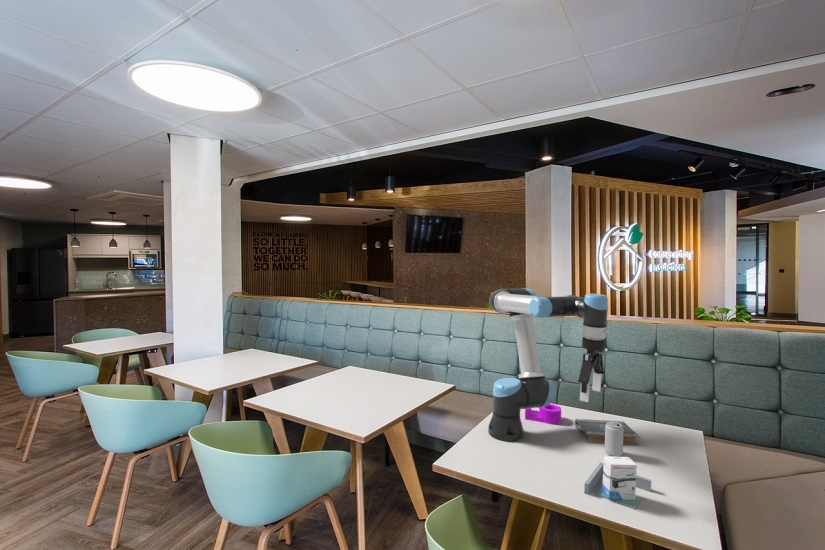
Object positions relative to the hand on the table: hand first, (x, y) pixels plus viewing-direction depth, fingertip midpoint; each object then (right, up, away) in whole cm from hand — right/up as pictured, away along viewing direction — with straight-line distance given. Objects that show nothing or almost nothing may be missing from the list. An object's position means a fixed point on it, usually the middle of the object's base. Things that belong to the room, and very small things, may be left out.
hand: (590, 395), depth 140 cm
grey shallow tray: (+20, -27, +30) cm, 46 cm away
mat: (+3, -28, -14) cm, 32 cm away
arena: (+4, -28, -11) cm, 31 cm away
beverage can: (+15, -28, +14) cm, 35 cm away
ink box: (+3, -28, -14) cm, 32 cm away
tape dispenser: (-1, -26, +47) cm, 54 cm away
